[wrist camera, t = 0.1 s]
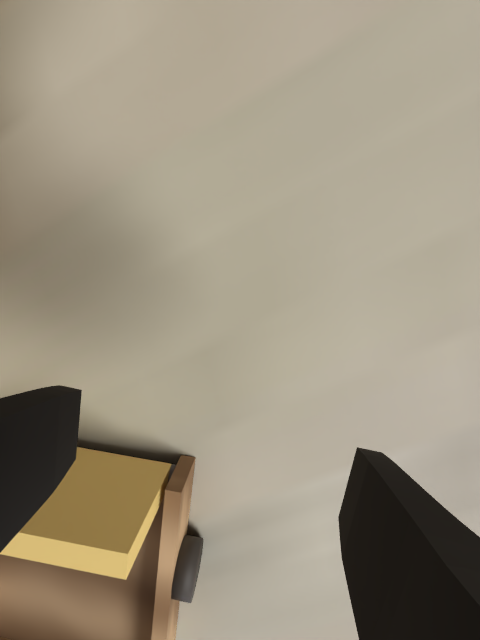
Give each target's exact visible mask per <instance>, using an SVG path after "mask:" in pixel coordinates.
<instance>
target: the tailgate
mask: <svg viewBox="0 0 480 640" xmlns="http://www.w3.org/2000/svg"><path fill="white" fill-rule="evenodd" d="M175 467H176V465H175V464H170V463H164V462H159V461H153V460H147V459H142V458H136V457H130V456H125V455H119V454H114V453H108V452H102V451H97V450H91V449H86V448H80V447H77V452H76V460H75V461H74V463H73V464H72V466H71V467H70V469H69V471H68V472H67V474H66V475H65V477H64V478H63V480H62V481H61V482H60V484H59V485H58V487H57V488H56V490H55V491H54V492H53V494H52V495H51V496H50V497H49V498H48V499H47V501H46V502H45V503H44V504H43V505H42V506H41V507H40V509H39V510H38V511H37V512H36V513H35V514H34V515H33V517H32V518H31V519H30V520H29V521H28V522H27V523H26V524H25V526H24V527H23V528H22V529H21V530H20V531H19V532H18V533H17V535H16V536H15V537H14V538H13V539H12V540H11V541H10V542H9V544H8V545H7V546H6V547H5V548H4V549H3V550H2V551H1V553H0V554H2V555H7V556H12V557H17V558H21V559H26V560H31V561H36V562H41V563H46V564H51V565H56V566H61V567H66V568H71V569H75V570H80V571H85V572H90V573H95V574H100V575H105V576H110V577H115V578H120V579H125V580H126V579H127V577H128V574H129V572H130V570H131V568H132V566H133V563H134V561H135V559H136V557H137V555H138V552H139V550H140V548H141V546H142V544H143V541H144V539H145V537H146V535H147V533H148V530H149V528H150V526H151V524H152V522H153V519H154V517H155V515H156V513H157V511H158V508H159V506H160V504H161V502H162V500H163V497H164V495H165V489H166V487H167V485H168V482H169V480H170V478H171V476H172V474H173V472H174V469H175Z"/></svg>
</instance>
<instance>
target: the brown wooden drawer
mask: <svg viewBox="0 0 480 640" xmlns="http://www.w3.org/2000/svg"><path fill="white" fill-rule="evenodd" d="M194 465H195V457H190V456H184V455H181V456H180V459H179V461H178V463H177V465H176V467H175V469H174V472H173V474H172V476H171V478H170V480H169V482H168V485H167V487H166V489H165V495H164V497H163V500H162V502H161V504H160V506H159V508H158V511H157V513H156V515H155V517H154V519H153V522H152V524H151V526H150V528H149V530H148V533H147V535H146V537H145V539H144V541H143V544H142V546H141V548H140V550H139V552H138V555H137V557H136V559H135V561H134V563H133V566H132V568H131V570H130V572H129V574H128V577H127V579H126V580H125V579H120V578H115V577H110V576H105V575H100V574H95V573H90V572H85V571H80V570H75V569H71V568H66V567H61V566H56V565H51V564H46V563H41V562H36V561H31V560H26V559H21V558H17V557H12V556H7V555H2V554H0V640H175V637H176V628H177V619H178V610H179V601H183V602H188V603H191V601H192V598H193V595H194V591H195V587H196V582H197V578H198V573H199V567H200V562H201V555H202V548H203V538H200V537H195V536H190V535H187V529H188V520H189V511H190V502H191V493H192V484H193V475H194Z"/></svg>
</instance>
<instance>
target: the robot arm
mask: <svg viewBox="0 0 480 640" xmlns="http://www.w3.org/2000/svg"><path fill="white" fill-rule="evenodd" d="M81 391H82V390H79V389H74V388H70V387H65V386H60V385H59V386H51V387H45V388H40V389H36V390H32V391H28V392H24V393H20V394H16V395H12V396H8V397H4V398H0V553H1V551H2V550H3V549H4V548H5V547H6V546H7V545H8V544H9V542H10V541H11V540H12V539H13V538H14V537H15V536H16V535H17V533H18V532H19V531H20V530H21V529H22V528H23V527H24V526H25V524H26V523H27V522H28V521H29V520H30V519H31V518H32V517H33V515H34V514H35V513H36V512H37V511H38V510H39V509H40V507H41V506H42V505H43V504H44V503H45V502H46V501H47V499H48V498H49V497H50V496H51V495H52V494H53V492H54V491H55V490H56V488H57V487H58V485H59V484H60V482H61V481H62V480H63V478H64V477H65V475H66V474H67V472H68V471H69V469H70V467H71V466H72V464H73V463H74V461H75V460H76V452H77V440H78V428H79V415H80V403H81ZM339 530H340V543H341V553H342V561H343V566H344V571H345V575H346V580H347V585H348V590H349V595H350V599H351V604H352V609H353V613H354V618H355V622H356V627H357V632H358V636H359V640H480V537H479V536H477V535H476V534H475V533H474V532H473V531H471V530H470V529H469V528H468V527H466V526H465V525H464V524H463V523H462V522H460V521H459V520H458V519H457V518H456V517H454V516H453V515H452V514H451V513H450V512H449V511H448V510H446V509H445V508H444V507H443V506H442V505H441V504H440V503H438V502H437V501H436V500H435V499H434V498H433V497H432V496H431V495H430V494H428V493H427V492H426V491H425V490H424V489H423V488H422V487H421V486H420V485H419V484H417V483H416V482H415V481H414V480H413V479H412V478H411V477H410V476H409V475H408V474H407V473H405V472H404V471H403V470H402V469H401V468H400V467H399V466H398V465H397V464H395V463H394V462H393V461H392V460H391V459H390V458H388V457H387V456H386V455H384V454H383V453H381V452H376V451H371V450H367V449H362V448H357V450H356V454H355V457H354V461H353V465H352V469H351V472H350V476H349V480H348V484H347V487H346V491H345V495H344V499H343V502H342V506H341V510H340V514H339Z"/></svg>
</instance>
